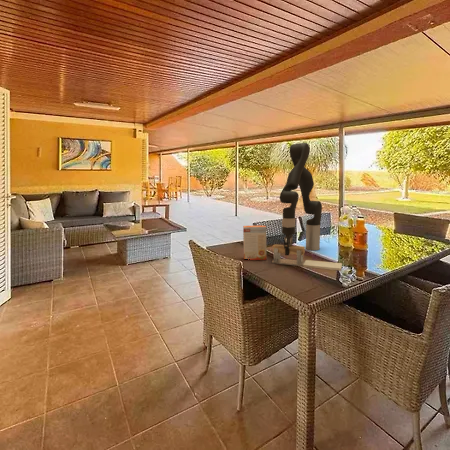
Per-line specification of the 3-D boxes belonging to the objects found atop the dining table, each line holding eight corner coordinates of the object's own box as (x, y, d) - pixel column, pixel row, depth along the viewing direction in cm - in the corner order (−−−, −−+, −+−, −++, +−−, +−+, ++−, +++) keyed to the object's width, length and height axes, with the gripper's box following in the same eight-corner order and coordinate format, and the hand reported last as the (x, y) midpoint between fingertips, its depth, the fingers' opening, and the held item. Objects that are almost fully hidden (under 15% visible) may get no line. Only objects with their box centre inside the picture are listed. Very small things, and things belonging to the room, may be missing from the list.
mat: (305, 261, 179) (306, 259, 179) (341, 265, 171) (342, 263, 171) (303, 266, 170) (303, 264, 170) (340, 270, 162) (341, 268, 162)
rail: (274, 250, 182) (274, 244, 182) (304, 253, 175) (304, 246, 174) (272, 252, 179) (272, 245, 178) (303, 255, 172) (303, 248, 171)
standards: (275, 259, 185) (275, 245, 184) (304, 262, 178) (305, 247, 176) (271, 263, 178) (271, 248, 176) (302, 266, 171) (302, 250, 169)
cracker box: (265, 257, 190) (265, 224, 186) (266, 260, 184) (266, 226, 180) (243, 257, 191) (243, 225, 187) (243, 260, 185) (243, 226, 181)
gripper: (285, 223, 182) (284, 250, 185) (279, 227, 169) (279, 256, 172) (297, 223, 179) (297, 251, 182) (292, 228, 166) (292, 257, 169)
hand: (288, 253), depth 177 cm, fingers open, 5 cm apart
